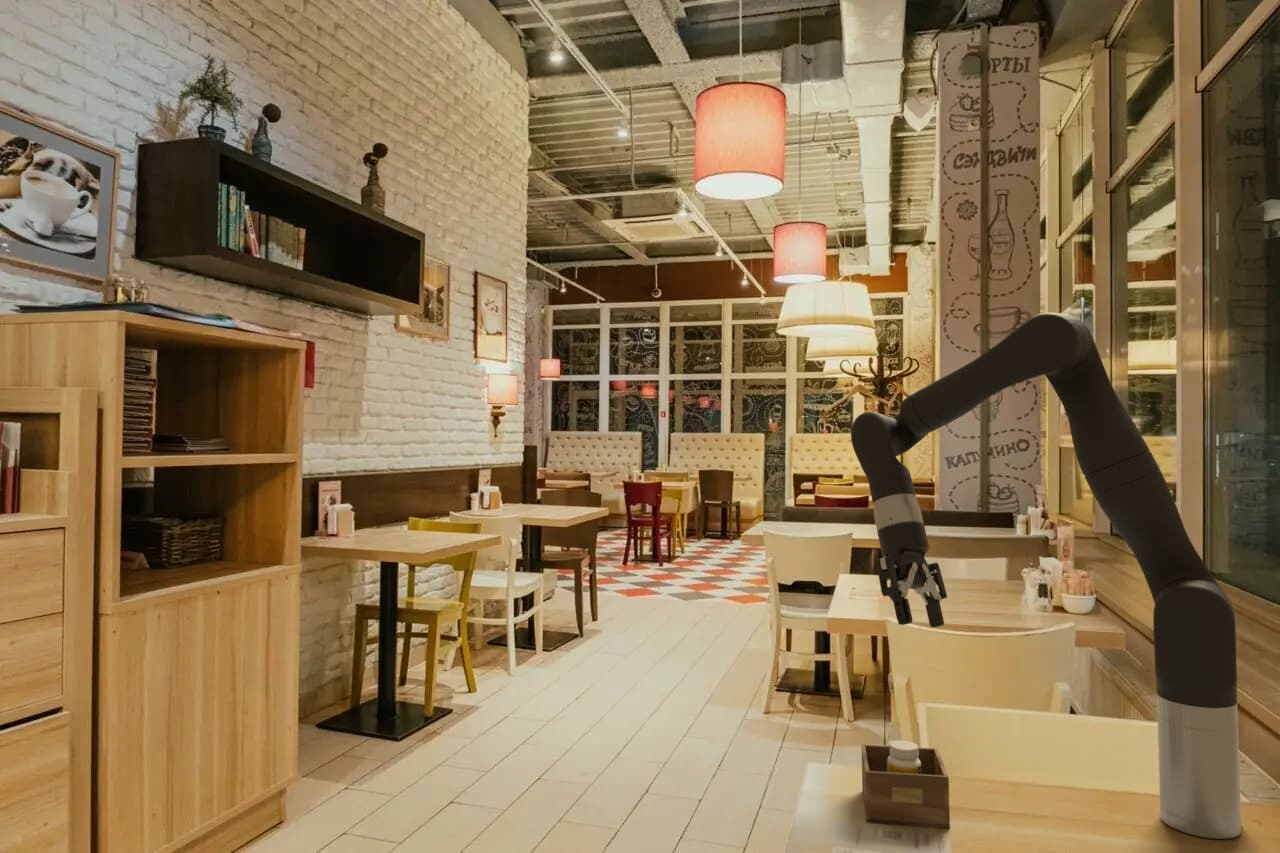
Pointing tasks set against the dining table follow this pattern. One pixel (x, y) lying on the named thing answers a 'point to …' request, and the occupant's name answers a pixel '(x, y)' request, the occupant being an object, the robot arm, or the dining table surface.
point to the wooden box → (905, 790)
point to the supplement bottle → (903, 758)
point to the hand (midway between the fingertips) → (922, 625)
